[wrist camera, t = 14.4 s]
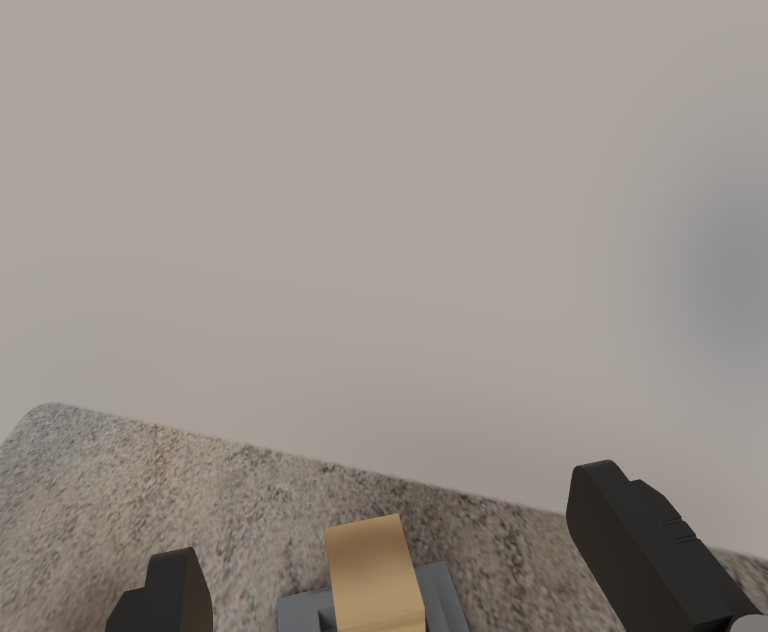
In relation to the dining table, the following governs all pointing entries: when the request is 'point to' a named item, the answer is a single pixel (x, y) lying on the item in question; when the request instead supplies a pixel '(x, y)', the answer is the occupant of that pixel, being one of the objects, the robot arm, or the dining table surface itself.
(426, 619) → the grey socket base
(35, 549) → the dining table surface
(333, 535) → the wooden block
